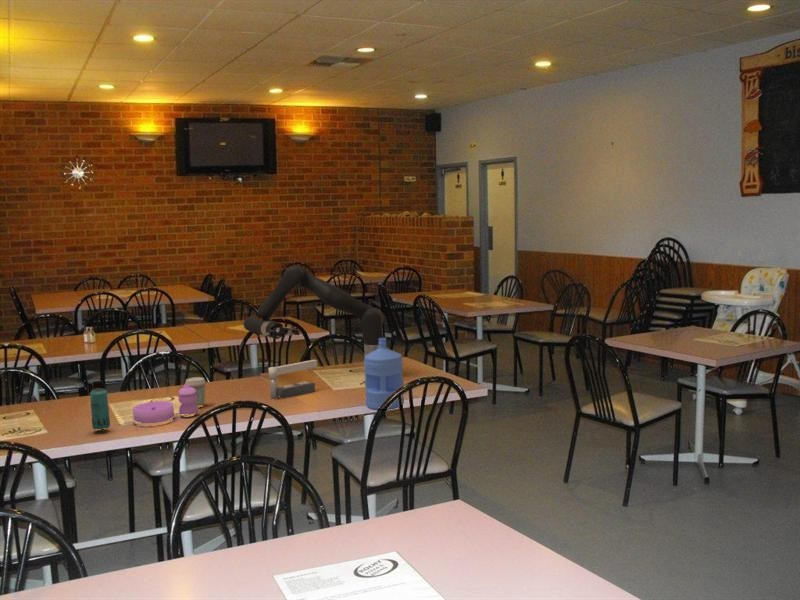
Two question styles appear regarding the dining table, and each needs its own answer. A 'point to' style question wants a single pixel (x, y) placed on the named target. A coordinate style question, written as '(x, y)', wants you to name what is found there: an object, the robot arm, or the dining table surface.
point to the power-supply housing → (296, 389)
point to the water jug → (382, 376)
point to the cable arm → (291, 368)
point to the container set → (166, 407)
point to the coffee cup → (198, 388)
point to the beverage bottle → (99, 406)
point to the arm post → (273, 388)
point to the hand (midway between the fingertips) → (291, 333)
